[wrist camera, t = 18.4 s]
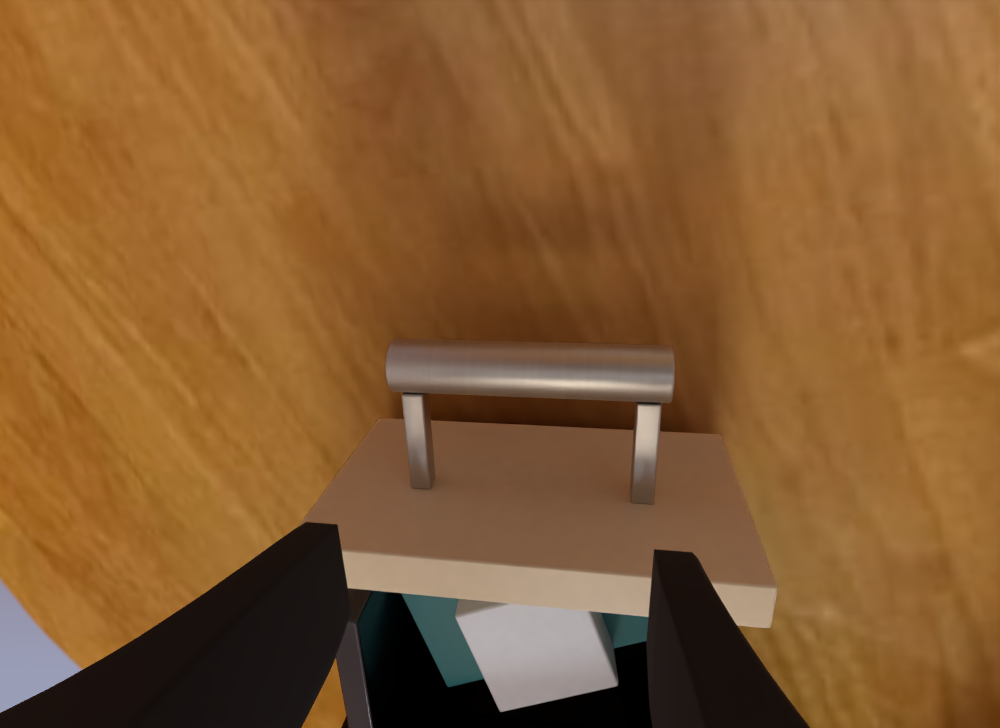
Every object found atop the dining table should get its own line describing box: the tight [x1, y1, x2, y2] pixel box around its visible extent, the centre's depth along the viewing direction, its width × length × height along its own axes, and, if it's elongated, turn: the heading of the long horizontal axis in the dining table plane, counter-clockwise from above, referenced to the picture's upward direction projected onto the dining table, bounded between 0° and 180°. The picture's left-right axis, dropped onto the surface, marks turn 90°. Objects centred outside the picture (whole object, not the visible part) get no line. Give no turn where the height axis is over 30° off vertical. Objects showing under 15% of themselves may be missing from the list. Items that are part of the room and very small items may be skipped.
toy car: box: [401, 593, 648, 712], centre depth 19 cm, size 7×5×4 cm
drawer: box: [298, 338, 778, 728], centre depth 18 cm, size 18×11×7 cm, turn 2°
